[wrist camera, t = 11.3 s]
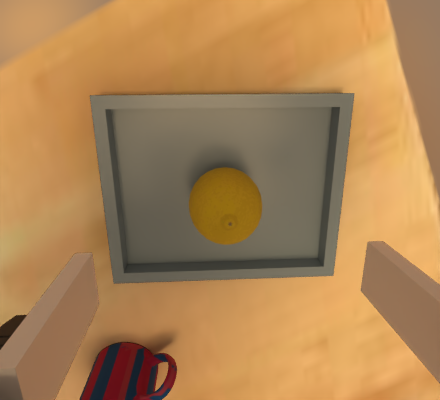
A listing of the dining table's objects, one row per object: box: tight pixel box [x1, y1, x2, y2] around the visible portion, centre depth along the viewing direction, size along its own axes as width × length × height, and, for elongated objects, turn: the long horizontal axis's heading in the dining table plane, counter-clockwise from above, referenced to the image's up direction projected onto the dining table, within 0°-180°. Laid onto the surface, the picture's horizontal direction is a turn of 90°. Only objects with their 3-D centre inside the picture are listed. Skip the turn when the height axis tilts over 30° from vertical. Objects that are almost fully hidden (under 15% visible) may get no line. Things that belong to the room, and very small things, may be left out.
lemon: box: [189, 167, 262, 245], centre depth 24 cm, size 6×6×8 cm
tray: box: [90, 93, 354, 284], centre depth 28 cm, size 20×16×2 cm
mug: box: [80, 342, 177, 400], centre depth 31 cm, size 7×10×7 cm
